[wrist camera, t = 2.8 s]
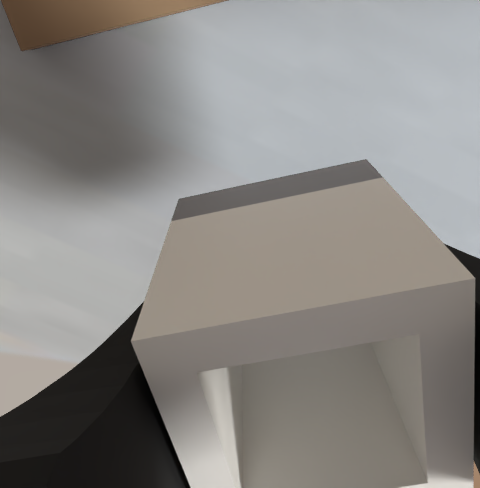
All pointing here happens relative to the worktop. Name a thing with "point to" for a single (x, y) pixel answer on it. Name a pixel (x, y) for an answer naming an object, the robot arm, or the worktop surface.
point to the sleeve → (311, 338)
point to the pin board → (84, 17)
